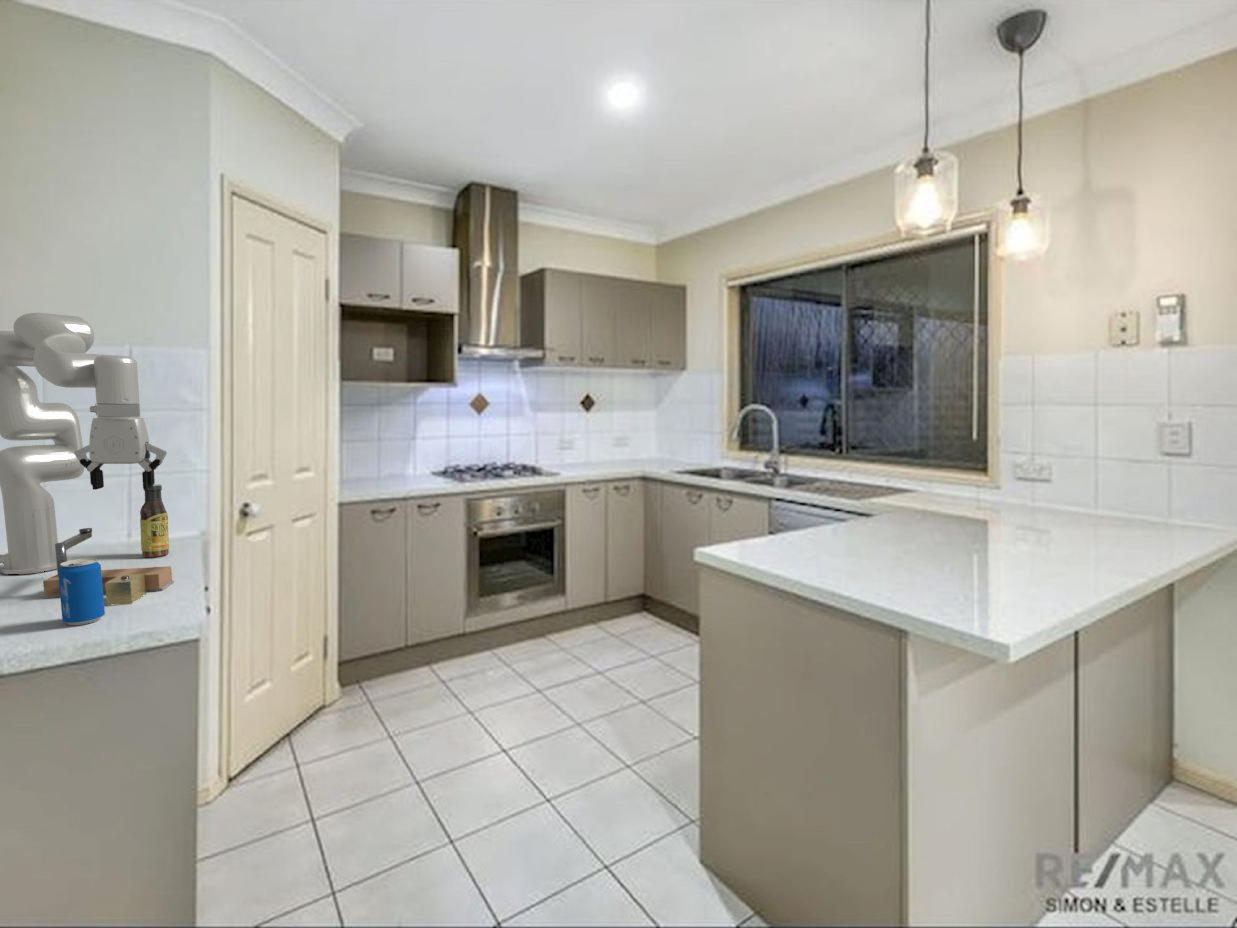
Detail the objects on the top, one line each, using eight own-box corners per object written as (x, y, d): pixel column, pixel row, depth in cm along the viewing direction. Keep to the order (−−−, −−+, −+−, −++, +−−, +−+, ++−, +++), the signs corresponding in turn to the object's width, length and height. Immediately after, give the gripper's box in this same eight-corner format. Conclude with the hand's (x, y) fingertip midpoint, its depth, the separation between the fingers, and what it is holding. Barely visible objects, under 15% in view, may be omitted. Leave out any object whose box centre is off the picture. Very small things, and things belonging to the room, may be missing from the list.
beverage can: (53, 625, 124) (48, 565, 123) (86, 614, 131) (81, 557, 129) (82, 627, 123) (77, 566, 122) (113, 616, 130) (108, 558, 128)
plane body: (42, 598, 141) (40, 581, 140) (61, 589, 147) (59, 572, 147) (161, 591, 146) (160, 574, 146) (174, 582, 153) (173, 566, 153)
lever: (67, 575, 144) (64, 541, 143) (54, 576, 143) (51, 542, 142) (96, 558, 159) (93, 527, 158) (84, 559, 158) (81, 528, 157)
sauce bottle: (155, 559, 175) (149, 487, 173) (136, 557, 176) (130, 486, 174) (176, 553, 181) (171, 483, 179) (157, 552, 182) (152, 483, 180)
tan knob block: (107, 605, 136) (105, 581, 136) (122, 596, 143) (120, 573, 142) (132, 604, 138) (130, 579, 137) (145, 595, 144) (144, 571, 143)
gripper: (62, 411, 136) (68, 491, 138) (155, 413, 140) (159, 490, 142) (82, 410, 143) (87, 486, 145) (170, 412, 147) (174, 485, 149)
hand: (123, 488), depth 143 cm, fingers open, 9 cm apart
